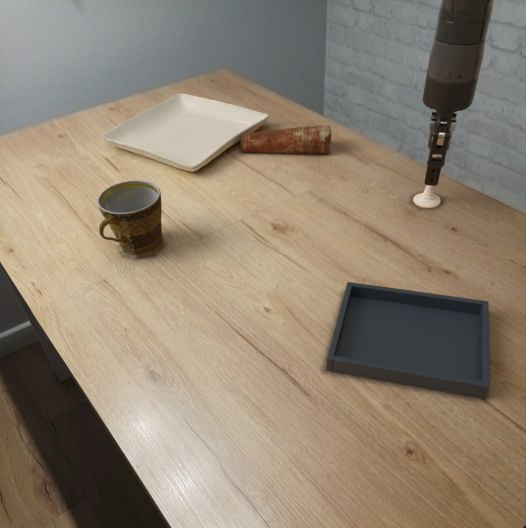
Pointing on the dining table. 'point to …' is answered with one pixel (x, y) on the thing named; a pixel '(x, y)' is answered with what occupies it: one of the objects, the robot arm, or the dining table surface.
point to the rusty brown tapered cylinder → (288, 140)
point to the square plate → (185, 130)
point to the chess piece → (427, 196)
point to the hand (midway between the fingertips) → (432, 174)
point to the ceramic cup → (133, 217)
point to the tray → (412, 339)
